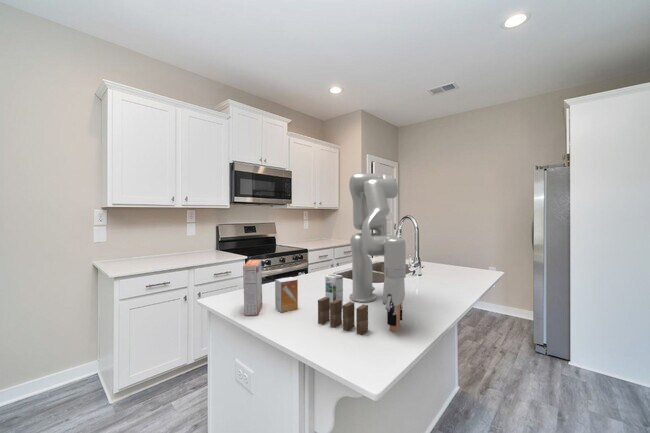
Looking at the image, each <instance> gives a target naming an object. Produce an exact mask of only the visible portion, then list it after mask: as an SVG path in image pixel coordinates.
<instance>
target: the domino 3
mask: <svg viewBox="0 0 650 433" xmlns="http://www.w3.org/2000/svg"><path fill="white" fill-rule="evenodd" d="M355 320H356V319H355V301H348V302H346V303H345V304H344V303H343V308H342V331H344V332H347V333H348V332H349V331H351V330H352V329H353V328H355Z"/></svg>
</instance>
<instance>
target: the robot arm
mask: <svg viewBox="0 0 650 433" xmlns="http://www.w3.org/2000/svg"><path fill="white" fill-rule="evenodd" d="M348 183H349V185H348V186H349V193H350V195H351V198H352V218H353V219H352V221H353V222H352V223H353V227H354V229H356V230H358V231H361V232H359V233H355V234H352V236H350V241H349V242H350V244H349V245H350V250H351V260H352V261H351V262H352V264H351V268H352V273H351V274H352V293H351V294H349V300H351V301H352V302H357V303H370V302H373V301H375V300H376V295H375V294H374V293H373V291H375V290H376V289H375V287H374V286H373V260H372V258H371V257H376V256H383V257H384V258H383V272H384V273H383V275H384V276H383V277H384V281H383V292H382V293H383V294H382V304H383V305H384V306H385V307H384V308H385V310H386V314H387V315H386V317H387V319H386V320H387V322H386V323H387V325H388V326H390V325H391V326H396V325H397V315H395V313H396V306H398V305H399V304H400V322H402V321H403V307H404V306H403V302H404V301H405V298H406V297H405V296H406V286H405V285H406V284H405V278H406V277H407V276H406V274H407V270H406V268H407V266H406V265H407V262H406V261H407V260H406V259H407V256H406V254H407V253H406V251H407V249H406V247H407V246H406V240H405V239H404V238H401V237H398V236H397V235H387V234H388V228H387V227H388V226H387V225H388V223H387V222H388V221H387V216H388V215H389V214H390V207H389V203H388V202H389V201H388V199H395V198H397V196H398V194H399V186H398V183H397V181H396V180H395V179H394V178H393V177H391V176H390V175H388V174H385V173H369V172H366V173H364V172H362V173H361V172H359V173H355V174H353V175H351V176H350V178H349V182H348ZM371 231H375V232H371ZM370 256H371V257H370ZM391 304H394V305H391ZM391 307H393V309H391Z"/></svg>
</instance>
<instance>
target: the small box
mask: <svg viewBox="0 0 650 433" xmlns="http://www.w3.org/2000/svg"><path fill="white" fill-rule="evenodd" d="M298 281H299V280H298V279H296V278H295V277H292V276H289V277H281V278H278V279H276V278H275V279H274V284H275V285H274V288H275V289H274V291H275V292H274V295H275V296H274V297H275V298H274V299H275V301H274V304H275V306H274V307H275V309H276V310H277V311H278V312H280V313H285V312H289V311H294V310H299V309H298V308H299V307H298V306H299V305H298V304H299V302H298V301H299V299H298V297H299V294H298V289H299V288H298V285H299V284H298V283H299V282H298Z"/></svg>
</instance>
